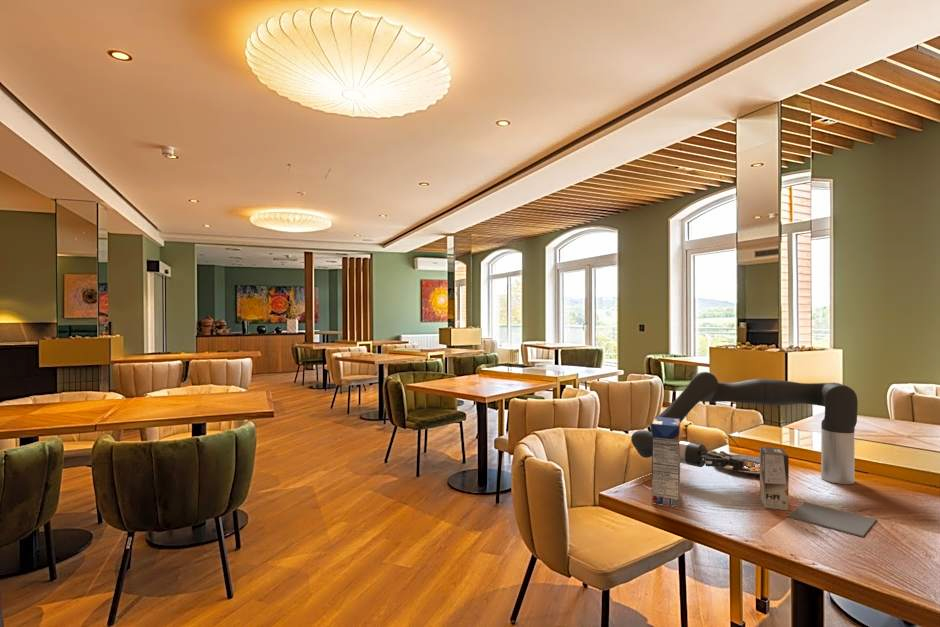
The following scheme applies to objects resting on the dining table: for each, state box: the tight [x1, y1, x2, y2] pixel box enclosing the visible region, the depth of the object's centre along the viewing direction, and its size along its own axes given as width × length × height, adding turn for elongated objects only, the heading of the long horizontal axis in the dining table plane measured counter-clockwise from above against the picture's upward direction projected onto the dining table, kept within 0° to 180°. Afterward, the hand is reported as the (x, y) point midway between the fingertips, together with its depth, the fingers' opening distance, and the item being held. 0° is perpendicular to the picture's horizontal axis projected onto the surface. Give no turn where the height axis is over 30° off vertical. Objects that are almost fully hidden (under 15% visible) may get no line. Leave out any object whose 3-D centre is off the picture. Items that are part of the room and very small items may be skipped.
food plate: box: [720, 453, 760, 475], centre depth 186 cm, size 25×23×4 cm
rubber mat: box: [786, 501, 877, 538], centre depth 140 cm, size 16×17×1 cm
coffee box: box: [759, 446, 790, 511], centre depth 151 cm, size 9×6×16 cm
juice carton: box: [651, 416, 681, 508], centre depth 154 cm, size 12×8×24 cm, turn 156°
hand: (743, 464), depth 157 cm, fingers closed
